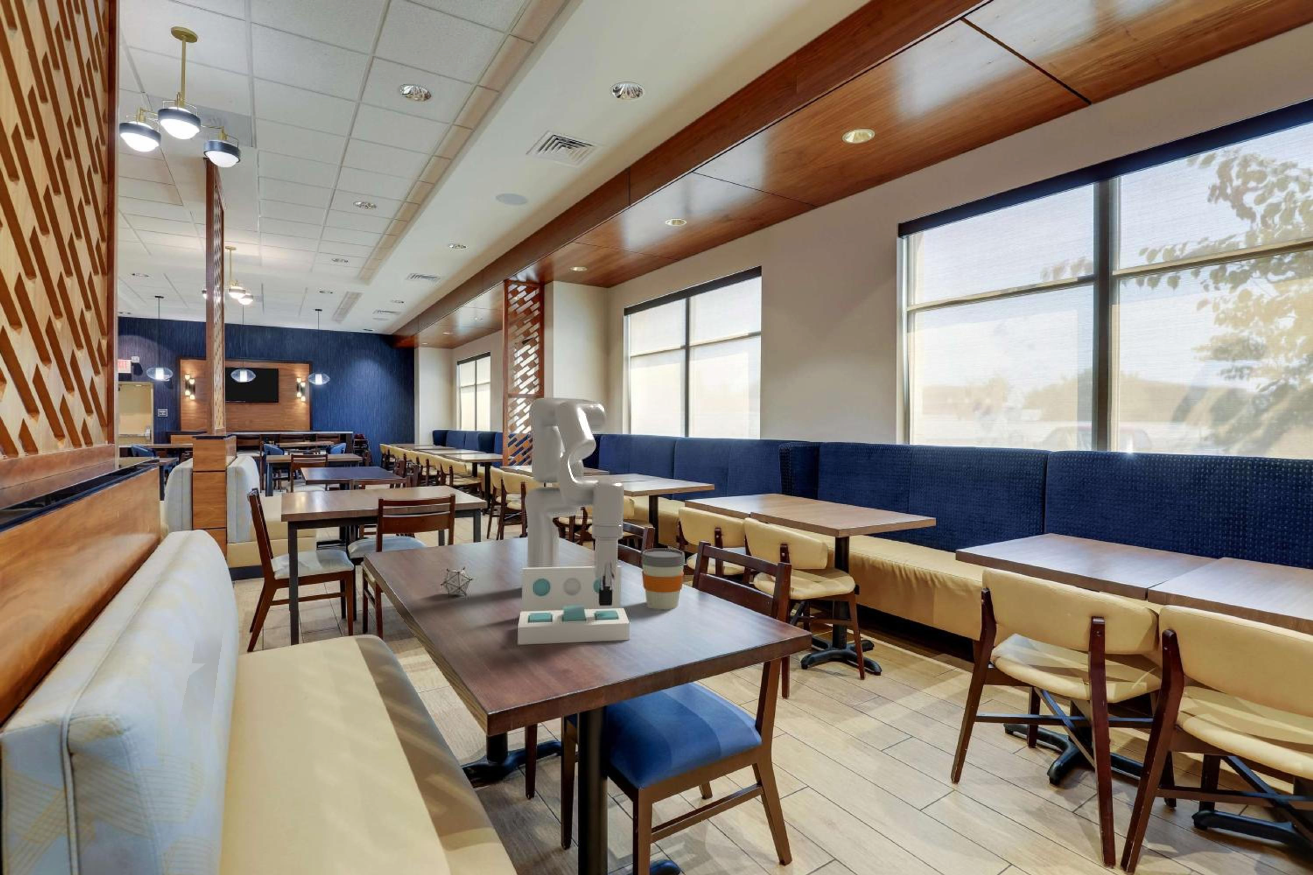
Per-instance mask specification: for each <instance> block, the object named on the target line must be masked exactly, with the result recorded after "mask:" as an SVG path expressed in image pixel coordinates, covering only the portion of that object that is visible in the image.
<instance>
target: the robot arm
mask: <svg viewBox="0 0 1313 875" xmlns="http://www.w3.org/2000/svg"><path fill="white" fill-rule="evenodd" d="M528 419H529V420H528V421H529V424H530V429H531V433H532V451H531V452H532V454H531V455H532V456H531V476H532V479H533V480H534V481H535V482H536V483H542V484H554V483H555V484H557V485H558V486H540V487H538V486H537V487H535V488H532V489H530V490H528V492H527V493H526V494H525V498H524V506H525V512H526V520H527V521H526V522H527V559H526V560H527V567H526V568H538V567H560V564H559V563H560V562H559V560H560V532H559V529H558V527H557V525H555V523H554V522H553V520H552V519H554V518H563V517H564V518H565V517H574V516H576V515H578V514H579V513H580V511H581V510H582V508H589V507H592V523H591V524H592V526H591V527H592V528H591V529H592V530H591V537H592V539H595V544H594V563H593V566H594V574H595V577H596V579H597V580H599V579H600V587H601V588H599V605H600V606H611V605H612V591H613V589H612V580H615V579H616V573H617V566H618V549H619V548H618V546H619V545H618V544H619V542H618V541H619V540H621V539H623V532H624V504H625V503H624V502H625V501H624V499H625V498H624V497H625V486H624V484H623V483H622V482H620V481H617V480H613V479H612V478H611V477H607V476H598V477H597V476H588V477H587V476H585V477H584V469H585V468H584V463H583V460H584V459H586V458H588V457H590V456H591V455H592V454H593V452H594V451H596V450H595V449H596V447H597V443H596V440H595V437H594V434H593V432H599V431H601V430H603V429H604V428H605V426H606V423H607V413H606V410H605V408H604V407H603V405H602V404H601V403H599V402H598V401H593V400H588V399H584V398H568V397H539V398H536V399H534V400H533V401H532V402H531V404H530V405H529V410H528ZM556 427H557V428H558V429H557V428H556ZM562 445H563V448H564V451H562ZM612 578H613V579H612Z"/></svg>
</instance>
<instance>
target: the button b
mask: <svg viewBox="0 0 1313 875" xmlns="http://www.w3.org/2000/svg"><path fill="white" fill-rule="evenodd" d="M563 621H585V611H584V606H563Z"/></svg>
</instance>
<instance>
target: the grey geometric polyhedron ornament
mask: <svg viewBox="0 0 1313 875" xmlns="http://www.w3.org/2000/svg"><path fill="white" fill-rule="evenodd" d="M465 569H466V566H464V567H463V568H462V569H453V570H452V569H451V570H450V569H449V568H446V571H447V572H446V576H445V578H444V580H443V583H441V584H440V586H443V587H444V588H445V590H446V592H447V593H448V595H447V598H448V597H449V598H450V597H451V596H454V595H462V594H463V595H464V596H466V595H467V596H468V594H467V589H468V587H469V585H470V582H471V581H473V580H474V579H473V578H470V576H468V574H467V572H466V570H465Z"/></svg>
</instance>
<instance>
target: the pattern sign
mask: <svg viewBox="0 0 1313 875" xmlns="http://www.w3.org/2000/svg"><path fill="white" fill-rule="evenodd" d="M521 574H522V575H521V576H522V581H521V582H522V584H521V612H523V611H553V610H563V606H584V609H613V608H621V596H622V595H621V593H622V591H621V590H622V587H621V585H622V566H621V565H617V573H616V579H615V580H612V589H613V591H612V605H611V606H600V605H599V588H601V587H600V579H599V580H597V579H596V577H595V574H594V565H593V566H588V565H587V566H559V567H538V568H527V567H522V572H521ZM612 579H613V578H612Z"/></svg>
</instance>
